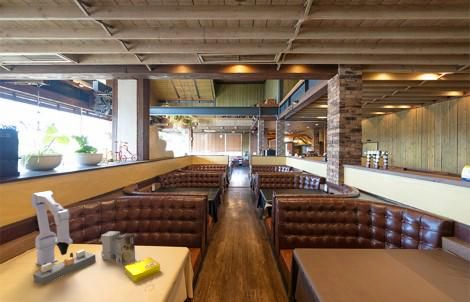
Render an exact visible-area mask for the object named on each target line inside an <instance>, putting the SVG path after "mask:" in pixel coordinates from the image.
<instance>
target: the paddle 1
mask: <svg viewBox="0 0 470 302" xmlns="http://www.w3.org/2000/svg"><path fill="white" fill-rule="evenodd" d="M52 266H53V263H48V264H45V265H40V268H41V271H42V272H46V271H48V270H51V269H52Z"/></svg>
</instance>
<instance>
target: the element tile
mask: <svg viewBox="0 0 470 302" xmlns="http://www.w3.org/2000/svg"><path fill="white" fill-rule="evenodd" d="M159 273H161V264H160V263H159V262H157V261H156V260H154V259H153V258H152V257H150V256H149V257H145V258H143V259H140V260H138V261H134V262H132V263H131V262H130V263H128V264H125V266H124V274H125V275H126V276H127V277H128V278H129V279H130V280H131V282H133V283H138V282H141V281H143V280H146V279H147V278H148V279H149V278H151V277H152V276H154V275H155V276H156V275H157V274H159Z"/></svg>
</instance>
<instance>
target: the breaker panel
mask: <svg viewBox="0 0 470 302" xmlns="http://www.w3.org/2000/svg"><path fill="white" fill-rule="evenodd" d="M73 258H74V263H73V264H71V265H68V266H65V265H64V261H63V262H60V263H57V264H54V265H52V269H51V270H48V271H46V272H42V271H38V272H37V271H36V273H33V282H34V283H37V284H39V285H41V286H44V285H47V284H49V283H51V282H53V280H54V281H56V280H57V278H58V279H60V278H62V277H64V276H66V274H67V275H69V274H71V273H73V272H75V271H77V270H80V269H81V267H82V268H84V267H86V266H88V265H90V264H93V263H94V261H95V262H96V261H97V260H96V259H97V258H96V254H94V253H91V252H86V251H85V255H84V256H82V257H79V258H78V257H76V256H73ZM68 273H69V274H68ZM63 275H64V276H63ZM61 276H62V277H61ZM59 277H60V278H59ZM55 279H56V280H55Z"/></svg>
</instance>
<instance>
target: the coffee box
mask: <svg viewBox="0 0 470 302" xmlns="http://www.w3.org/2000/svg"><path fill="white" fill-rule="evenodd" d="M115 251H116V258H115V264H116V265H119V266H121V267H122V266H124V265H125V266H126V265H128V264H130V263H131V262H132V261H136V247H135V234H134V233H130V232H126V233H124V234H120V236H118V237H115Z"/></svg>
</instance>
